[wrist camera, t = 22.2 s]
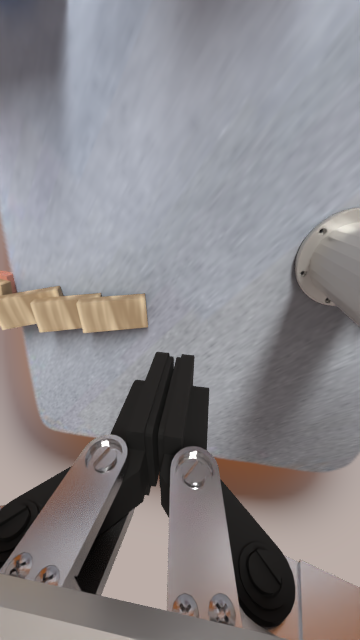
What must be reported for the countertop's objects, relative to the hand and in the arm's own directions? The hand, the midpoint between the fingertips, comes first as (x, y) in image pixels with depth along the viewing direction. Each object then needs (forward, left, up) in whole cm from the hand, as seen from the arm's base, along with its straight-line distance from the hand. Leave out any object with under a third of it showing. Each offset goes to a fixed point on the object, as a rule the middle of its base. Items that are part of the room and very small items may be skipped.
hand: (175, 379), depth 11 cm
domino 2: (+6, +17, -25) cm, 31 cm away
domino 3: (+12, +21, -25) cm, 35 cm away
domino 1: (+1, +12, -25) cm, 28 cm away
